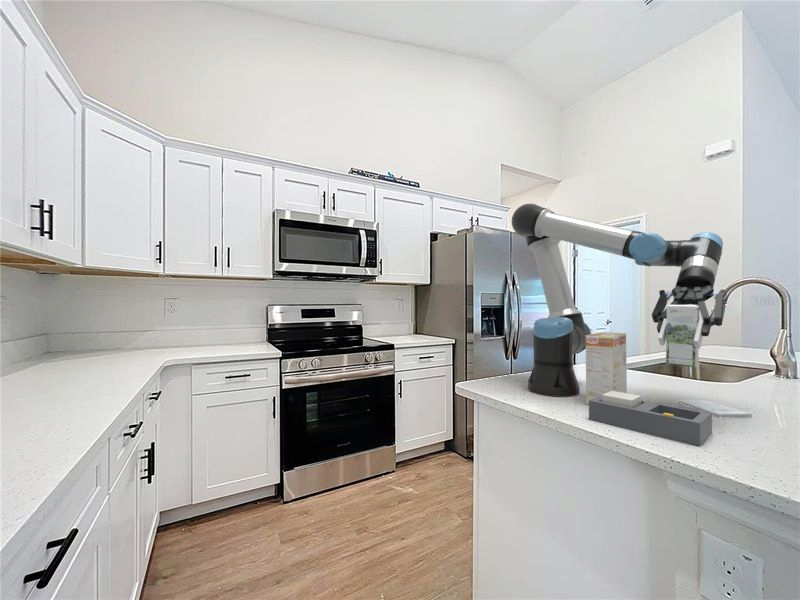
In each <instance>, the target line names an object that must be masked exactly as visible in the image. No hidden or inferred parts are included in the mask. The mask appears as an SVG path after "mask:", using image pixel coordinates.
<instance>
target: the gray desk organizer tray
mask: <svg viewBox="0 0 800 600" xmlns="http://www.w3.org/2000/svg"><path fill="white" fill-rule="evenodd" d="M588 420H592V421H596V422H599V423H604V424H608V425H612V426H615V427H619V428H623V429H629V430H631V429H632V431H636V432H639V433H640V432H641V433H644V432H645V434H648V433H649V435H652V436H657V437H660V438H666V439H670V440H673V441H677V442H681V443H685V444H689V443H690V444H689V445H693V444H694V445H693V446H697V447H701V446H702V445H703V444H704V443H705V442H706V441H707V440H708V439H709V438H710V437H711V436H712V435H713V415H712V413H709V412H704V411H698V410H695V409H692V408H688V407H687V408H686V407H682V406H681V407H680V406H675V405H670V404H665V403H658V402H653V401H650V400H649V401H648V400H642V395H641V394H640V395H639V394H633V393H628V392H627V393H622V392H617V391H610V392H608V393H605V394H602V396H599V397H597V398H594V399H592V400H589V405H588ZM711 434H712V435H711ZM710 435H711V436H710ZM709 436H710V437H709ZM708 437H709V438H708Z"/></svg>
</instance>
